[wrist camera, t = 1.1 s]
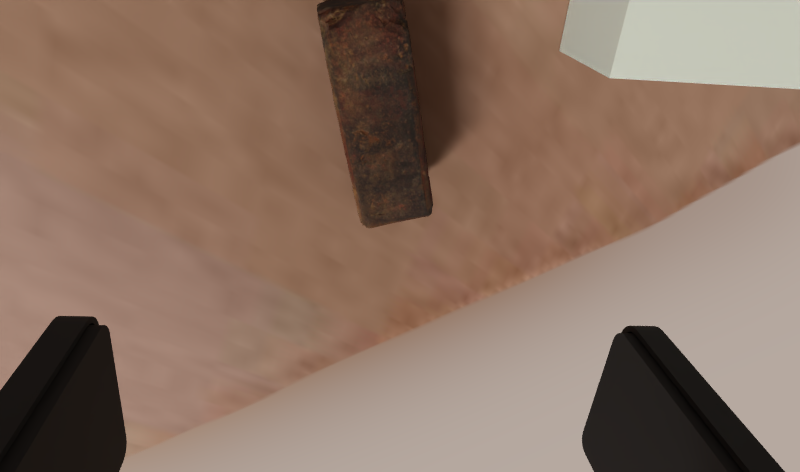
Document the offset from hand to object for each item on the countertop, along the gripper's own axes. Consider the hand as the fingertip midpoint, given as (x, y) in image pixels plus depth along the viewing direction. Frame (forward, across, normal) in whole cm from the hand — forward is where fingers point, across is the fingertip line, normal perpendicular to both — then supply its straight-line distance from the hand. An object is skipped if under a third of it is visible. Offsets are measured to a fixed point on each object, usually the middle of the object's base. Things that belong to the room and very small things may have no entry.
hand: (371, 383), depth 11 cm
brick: (+22, -2, 0) cm, 22 cm away
